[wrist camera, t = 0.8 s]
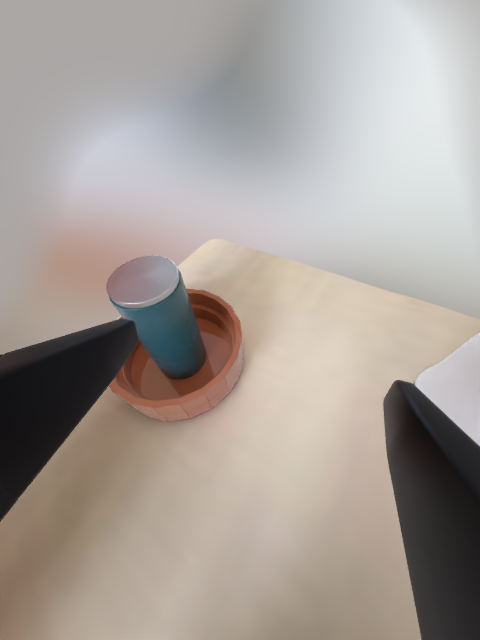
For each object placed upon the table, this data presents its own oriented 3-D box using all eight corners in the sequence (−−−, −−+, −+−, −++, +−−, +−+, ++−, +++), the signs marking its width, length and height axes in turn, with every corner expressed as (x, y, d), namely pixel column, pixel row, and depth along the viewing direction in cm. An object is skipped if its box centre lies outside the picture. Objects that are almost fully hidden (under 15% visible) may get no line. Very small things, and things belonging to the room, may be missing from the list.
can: (186, 388, 23) (143, 315, 14) (148, 366, 25) (88, 289, 16) (215, 348, 26) (193, 266, 17) (179, 330, 28) (142, 247, 19)
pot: (196, 451, 20) (184, 440, 17) (97, 382, 25) (70, 362, 21) (263, 338, 27) (265, 314, 24) (176, 300, 32) (166, 275, 28)
